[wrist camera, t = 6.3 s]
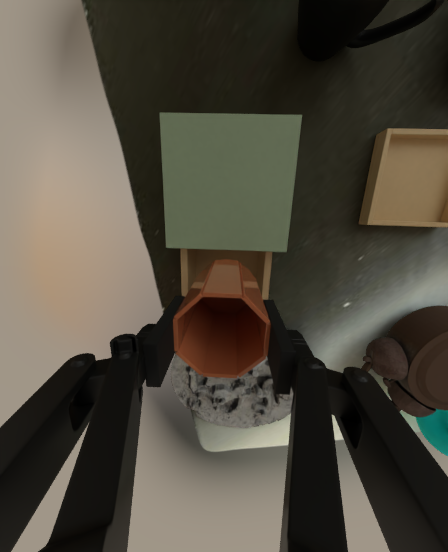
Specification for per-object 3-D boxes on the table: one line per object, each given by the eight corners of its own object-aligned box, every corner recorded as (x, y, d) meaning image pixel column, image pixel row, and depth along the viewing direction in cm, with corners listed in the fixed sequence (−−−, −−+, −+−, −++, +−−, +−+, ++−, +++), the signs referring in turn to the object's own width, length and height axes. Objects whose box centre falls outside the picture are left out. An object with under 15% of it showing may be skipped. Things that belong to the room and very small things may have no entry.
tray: (466, 136, 27) (485, 129, 25) (438, 226, 30) (453, 227, 28) (376, 134, 27) (387, 128, 25) (358, 224, 30) (367, 224, 28)
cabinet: (271, 241, 31) (286, 252, 23) (184, 238, 32) (166, 248, 23) (280, 145, 28) (302, 114, 19) (182, 143, 28) (159, 112, 20)
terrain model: (332, 334, 34) (347, 358, 30) (282, 421, 44) (288, 448, 40) (183, 303, 33) (175, 323, 28) (167, 400, 43) (159, 426, 39)
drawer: (262, 313, 34) (270, 339, 27) (188, 310, 34) (177, 335, 27) (269, 233, 30) (280, 238, 23) (186, 230, 31) (173, 235, 24)
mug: (356, 105, 26) (422, 47, 17) (272, 52, 25) (295, -39, 16) (400, 28, 24) (503, -85, 15) (311, -33, 23) (363, -196, 14)
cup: (256, 260, 22) (274, 295, 13) (252, 314, 24) (265, 380, 15) (197, 257, 23) (171, 291, 13) (198, 311, 24) (175, 375, 15)
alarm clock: (459, 280, 31) (333, 342, 36) (522, 300, 25) (357, 373, 29) (487, 351, 35) (369, 400, 39) (550, 386, 28) (398, 441, 32)
